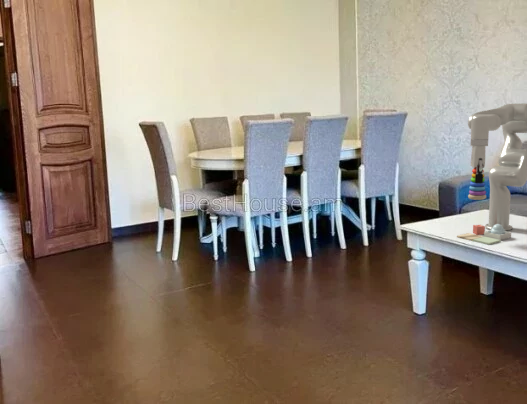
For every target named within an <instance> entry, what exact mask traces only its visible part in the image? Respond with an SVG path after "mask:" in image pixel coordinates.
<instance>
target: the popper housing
mask: <svg viewBox="0 0 527 404" xmlns="http://www.w3.org/2000/svg"><path fill="white" fill-rule="evenodd" d="M483 236H484V237H489V238H493V239H498V240H501V241H505V240H508V239H511V238H512V232H511V231H508V230H507V231H505V234H501V235H498V234H494V233H491V230H490V229H489V230H487V231H486V230H485V232H484V235H483Z"/></svg>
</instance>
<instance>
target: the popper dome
mask: <svg viewBox="0 0 527 404" xmlns="http://www.w3.org/2000/svg"><path fill="white" fill-rule="evenodd" d="M491 233H494V234H498V235H501V234H505V229H503V226H502V225H500V224H495V225H494V226H493V228H491Z"/></svg>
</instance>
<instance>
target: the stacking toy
mask: <svg viewBox="0 0 527 404" xmlns="http://www.w3.org/2000/svg"><path fill="white" fill-rule="evenodd" d="M477 167H479V166H477ZM484 172H485V170H484V169H483V183H475V174H476V167H475V169H474V168H473V169H472V171H471V173H472V174H471V178H470V182H469V191H468V193H469V194H468V195H467V197H468V199H469V200H476V201H478V200H479V201H480V200H485V199H486V198H487V195H486V194H487V191H486V186H485V185H486V183H485V180H486V179H485V174H484Z"/></svg>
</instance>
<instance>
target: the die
mask: <svg viewBox="0 0 527 404" xmlns="http://www.w3.org/2000/svg"><path fill="white" fill-rule="evenodd" d="M485 231H486V228H485V225H483V224H473V225H472V234H475V235H480V236H484V232H485Z"/></svg>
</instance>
